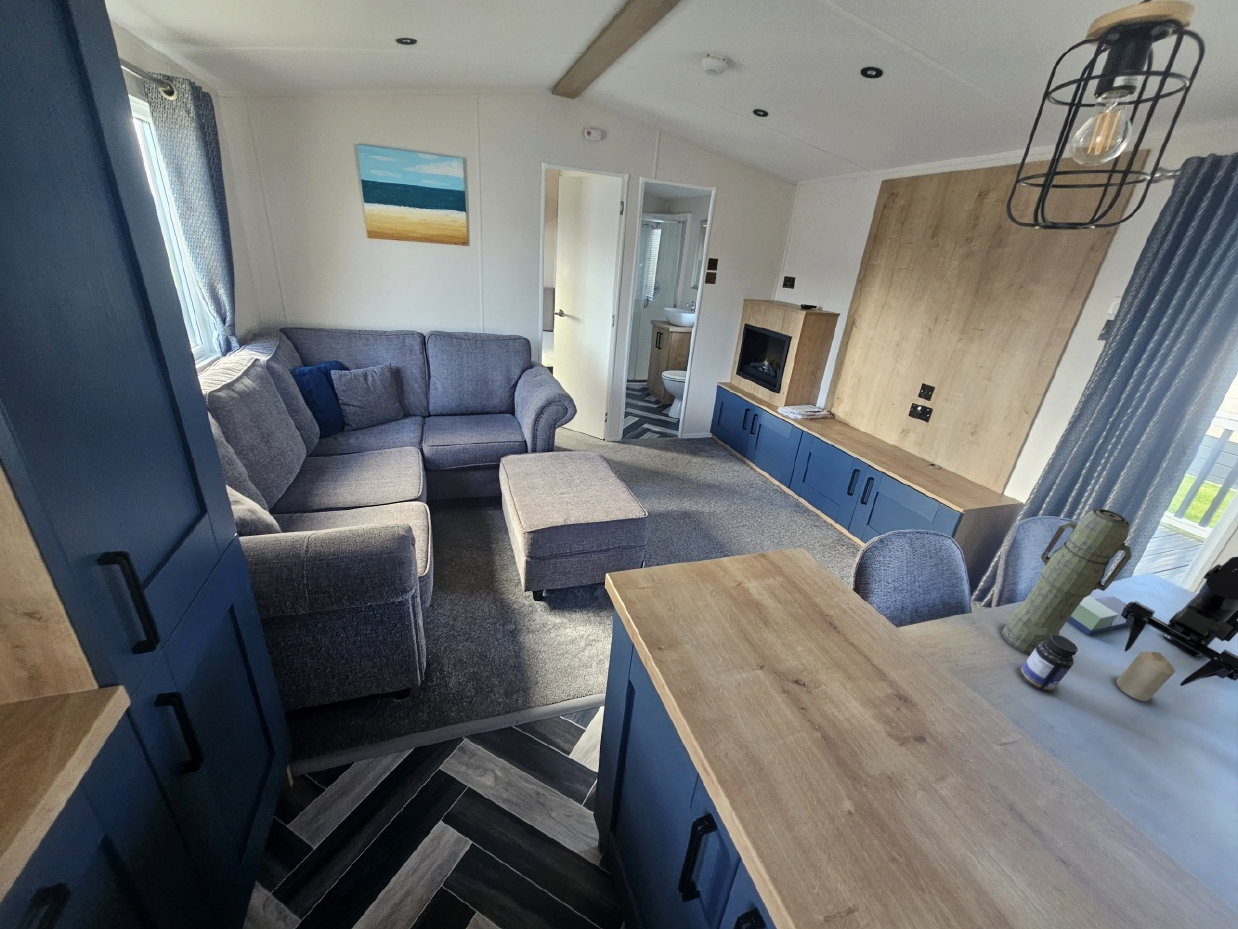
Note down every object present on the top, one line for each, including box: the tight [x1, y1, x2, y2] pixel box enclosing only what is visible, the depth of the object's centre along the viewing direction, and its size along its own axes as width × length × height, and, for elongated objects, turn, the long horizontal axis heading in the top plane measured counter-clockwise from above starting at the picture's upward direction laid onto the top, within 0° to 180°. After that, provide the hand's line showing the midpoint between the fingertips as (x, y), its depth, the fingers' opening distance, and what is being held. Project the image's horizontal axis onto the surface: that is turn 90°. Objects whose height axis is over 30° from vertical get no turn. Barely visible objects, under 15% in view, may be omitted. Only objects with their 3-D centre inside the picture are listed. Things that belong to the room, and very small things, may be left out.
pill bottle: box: [1019, 634, 1079, 692], centre depth 105 cm, size 6×6×11 cm
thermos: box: [1001, 508, 1133, 656], centre depth 110 cm, size 9×12×35 cm
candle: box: [1116, 651, 1176, 702], centre depth 107 cm, size 6×6×10 cm
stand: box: [1066, 595, 1130, 636], centre depth 130 cm, size 24×8×6 cm, turn 110°
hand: (1152, 667), depth 106 cm, fingers open, 9 cm apart
